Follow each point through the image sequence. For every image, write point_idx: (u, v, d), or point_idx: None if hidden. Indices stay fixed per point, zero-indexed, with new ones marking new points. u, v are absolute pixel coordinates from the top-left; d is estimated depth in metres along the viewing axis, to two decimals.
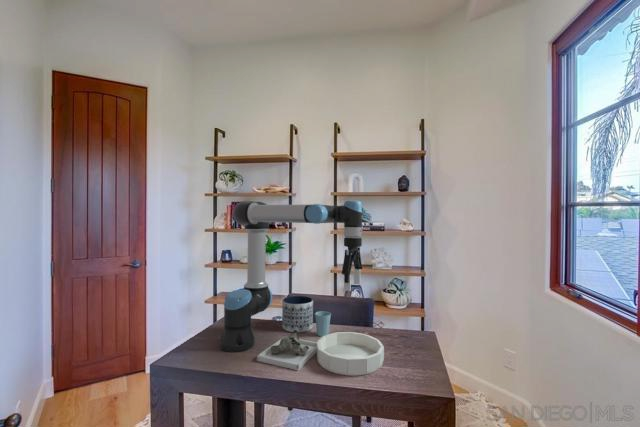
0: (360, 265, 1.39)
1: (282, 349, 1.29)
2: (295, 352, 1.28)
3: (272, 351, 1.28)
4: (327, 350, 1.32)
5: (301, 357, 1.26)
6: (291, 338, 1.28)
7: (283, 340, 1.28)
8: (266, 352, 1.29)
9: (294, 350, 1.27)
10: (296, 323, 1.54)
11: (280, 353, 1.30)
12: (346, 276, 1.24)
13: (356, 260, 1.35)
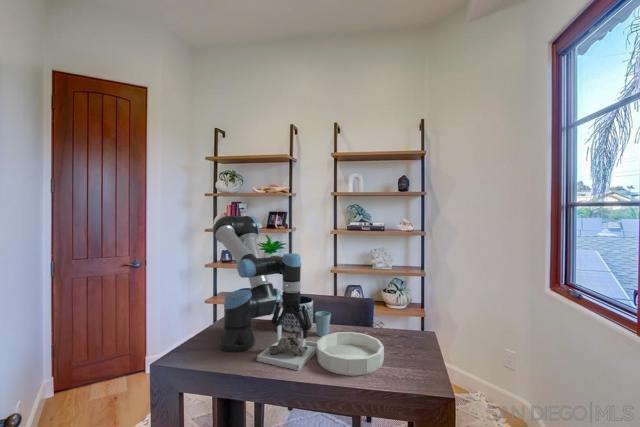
0: (306, 327, 1.26)
1: (281, 349, 1.29)
2: (294, 352, 1.27)
3: (271, 351, 1.28)
4: (327, 350, 1.32)
5: (301, 357, 1.26)
6: (290, 338, 1.27)
7: (282, 340, 1.28)
8: (266, 352, 1.29)
9: (293, 350, 1.27)
10: (296, 323, 1.54)
11: (280, 353, 1.30)
12: None
13: None
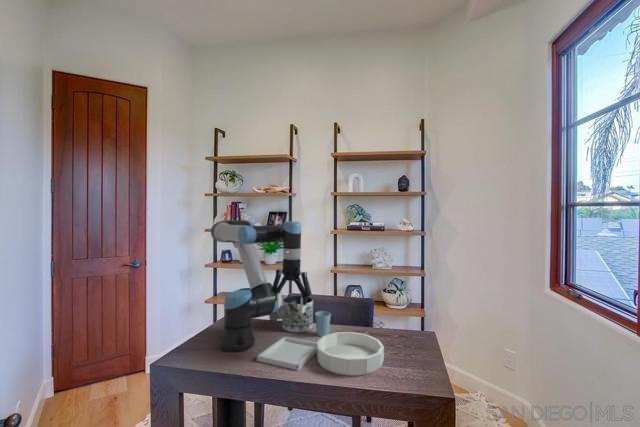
0: None
1: (280, 316, 1.29)
2: (293, 319, 1.28)
3: (270, 318, 1.29)
4: (327, 350, 1.32)
5: (301, 357, 1.26)
6: (289, 305, 1.28)
7: (281, 307, 1.29)
8: (266, 352, 1.29)
9: (292, 317, 1.27)
10: (296, 323, 1.54)
11: (280, 353, 1.30)
12: None
13: None
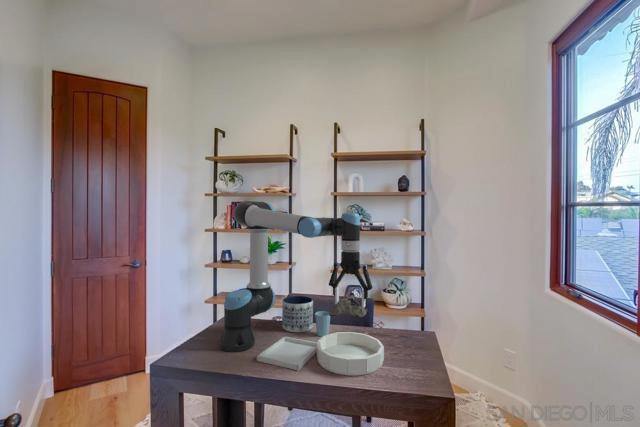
0: (368, 287, 1.22)
1: (340, 311, 1.25)
2: (354, 314, 1.23)
3: (330, 313, 1.24)
4: (327, 350, 1.32)
5: (301, 357, 1.26)
6: (350, 299, 1.23)
7: (341, 301, 1.24)
8: (266, 352, 1.29)
9: (353, 311, 1.23)
10: (296, 323, 1.54)
11: (280, 353, 1.30)
12: None
13: None
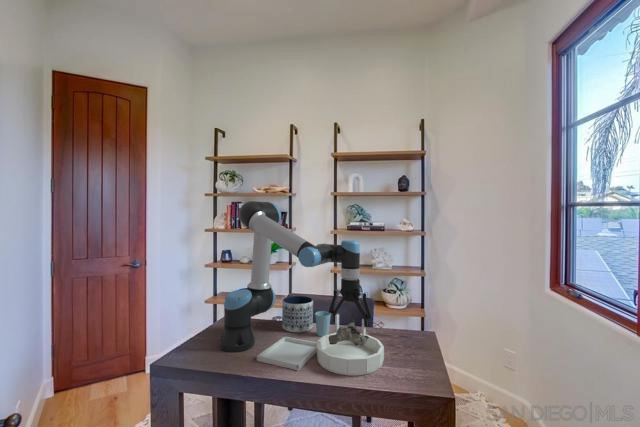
0: (368, 315, 1.22)
1: (340, 339, 1.25)
2: (354, 342, 1.23)
3: (330, 341, 1.24)
4: (327, 350, 1.32)
5: (301, 357, 1.26)
6: (350, 327, 1.23)
7: (341, 329, 1.24)
8: (266, 352, 1.29)
9: (353, 340, 1.23)
10: (296, 323, 1.54)
11: (280, 353, 1.30)
12: None
13: None
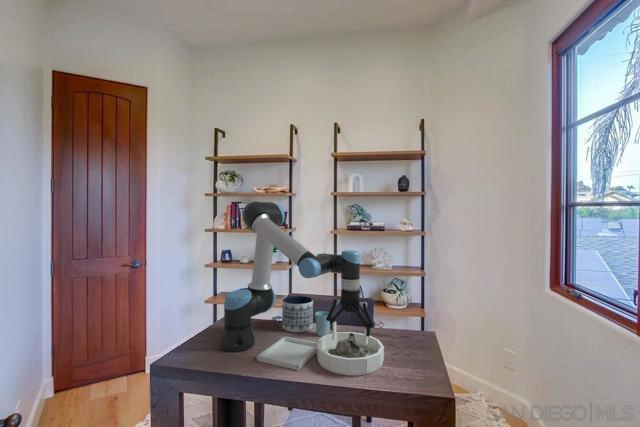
0: None
1: (340, 353, 1.25)
2: (354, 356, 1.23)
3: None
4: (327, 350, 1.32)
5: (301, 357, 1.26)
6: (350, 342, 1.23)
7: (341, 343, 1.24)
8: (266, 352, 1.29)
9: (353, 354, 1.23)
10: (296, 323, 1.54)
11: (280, 353, 1.30)
12: None
13: None
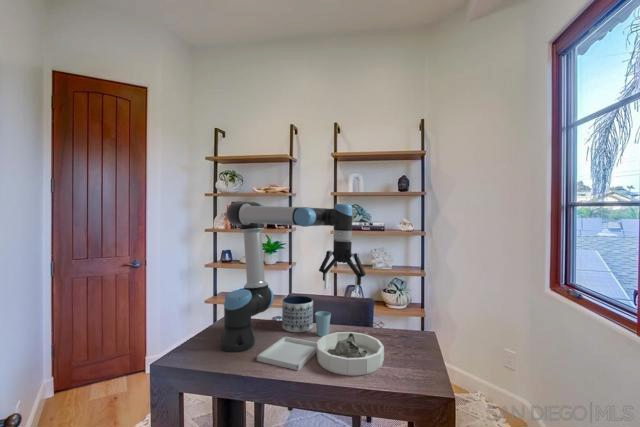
0: (361, 274, 1.27)
1: (339, 353, 1.25)
2: (353, 356, 1.23)
3: None
4: (327, 350, 1.32)
5: (301, 357, 1.26)
6: (349, 342, 1.23)
7: (340, 344, 1.24)
8: (266, 352, 1.29)
9: (352, 354, 1.22)
10: (296, 323, 1.54)
11: (280, 353, 1.30)
12: None
13: None
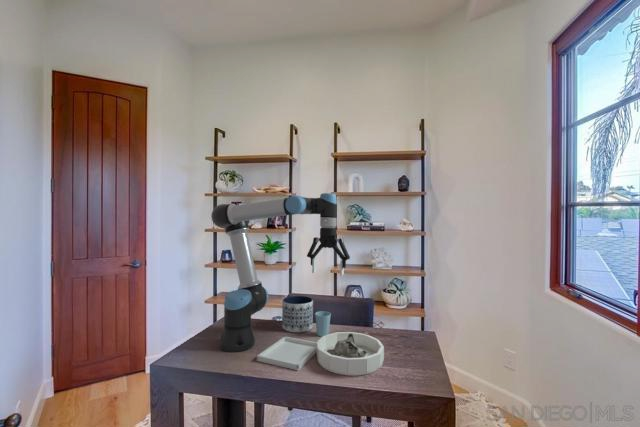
0: (345, 257, 1.37)
1: (338, 353, 1.24)
2: (352, 357, 1.22)
3: None
4: None
5: (301, 357, 1.26)
6: (348, 342, 1.22)
7: (339, 344, 1.24)
8: (266, 352, 1.29)
9: (351, 355, 1.22)
10: (296, 323, 1.54)
11: (280, 353, 1.30)
12: None
13: None
